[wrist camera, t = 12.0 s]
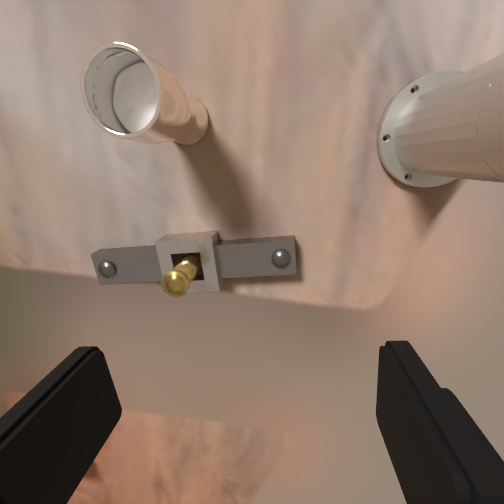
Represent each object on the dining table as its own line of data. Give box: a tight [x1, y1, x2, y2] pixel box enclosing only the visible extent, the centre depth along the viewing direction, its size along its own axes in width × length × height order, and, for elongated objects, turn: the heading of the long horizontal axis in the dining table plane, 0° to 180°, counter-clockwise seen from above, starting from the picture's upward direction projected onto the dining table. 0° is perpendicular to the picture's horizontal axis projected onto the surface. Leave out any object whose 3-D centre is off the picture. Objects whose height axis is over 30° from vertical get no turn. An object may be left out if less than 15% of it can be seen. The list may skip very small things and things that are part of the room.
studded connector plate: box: [91, 231, 297, 294], centre depth 39 cm, size 30×8×4 cm, turn 96°
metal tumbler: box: [80, 42, 208, 145], centre depth 28 cm, size 7×7×15 cm
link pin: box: [161, 252, 202, 297], centre depth 37 cm, size 3×3×9 cm
